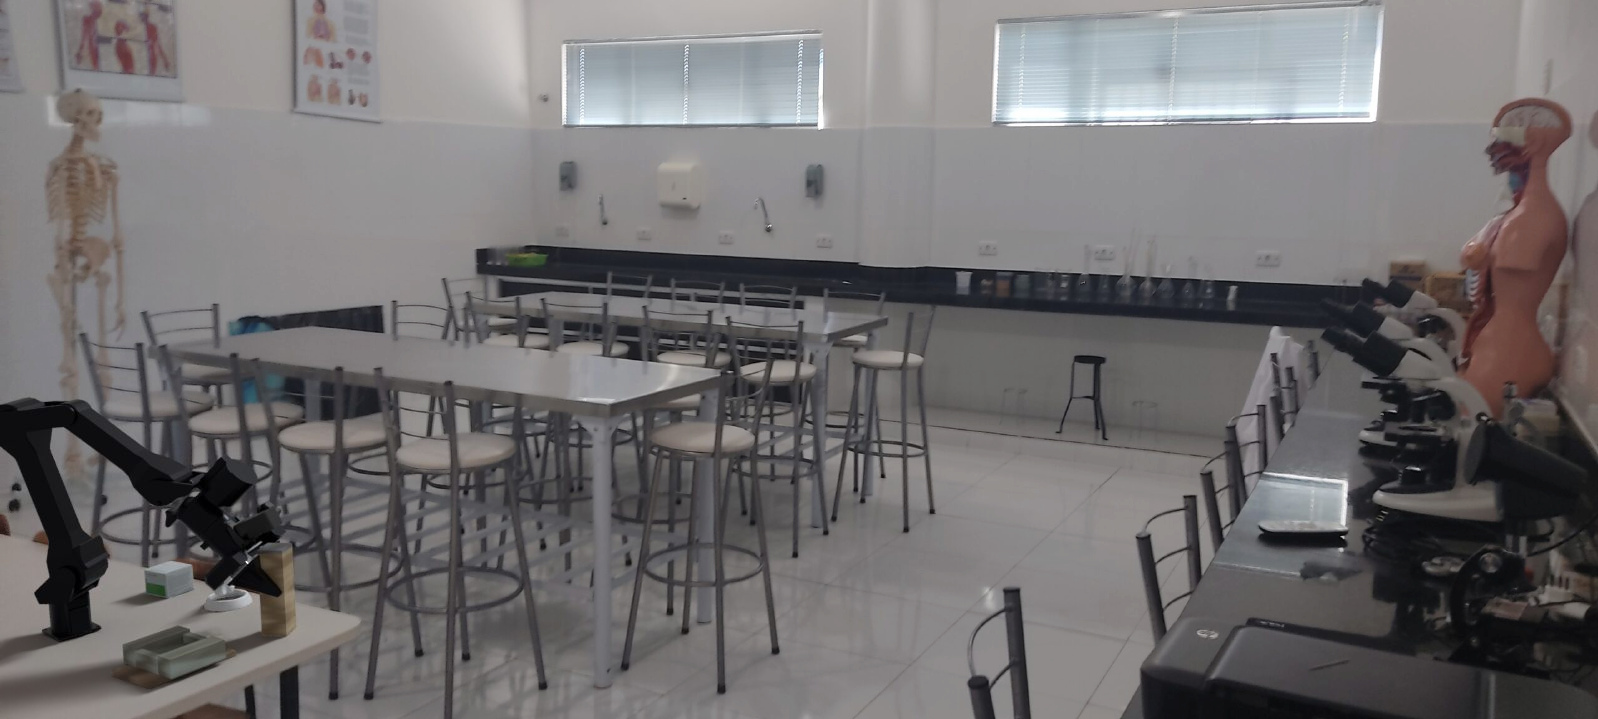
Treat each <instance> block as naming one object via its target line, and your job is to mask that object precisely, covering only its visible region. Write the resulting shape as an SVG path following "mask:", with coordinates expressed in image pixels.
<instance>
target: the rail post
mask: <svg viewBox="0 0 1598 719" xmlns="http://www.w3.org/2000/svg"><path fill="white" fill-rule="evenodd" d="M293 553H294V552H293V543H292V542H280V543H267V544H265V545H264V546H263V547H261V548H260V549H258V550H257V556H258V555H260V563H261V568H262V569H263V570H264V571H265V572H266V574H267V575H268V576H269V577H270V578H271V579H272V580H273V581H274V582H275V583H276V585H277V586H278V587H279V588H280V590H281V591H282V594H281V595H280V596H279V597H274V596H271V595H267V594H264V593H260V592H258V593H259V604H260V605H259V608H260V624H261V625H260V626H261V627H260V628H261V636H262V637H287V636H289V635H290V634H291V633H292V632H293V631H294V630H295V629H296V628H297V614H296V612H297V610H296V594H295V590H296V589H295V575H294V574H295V572H294V556H293Z"/></svg>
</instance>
